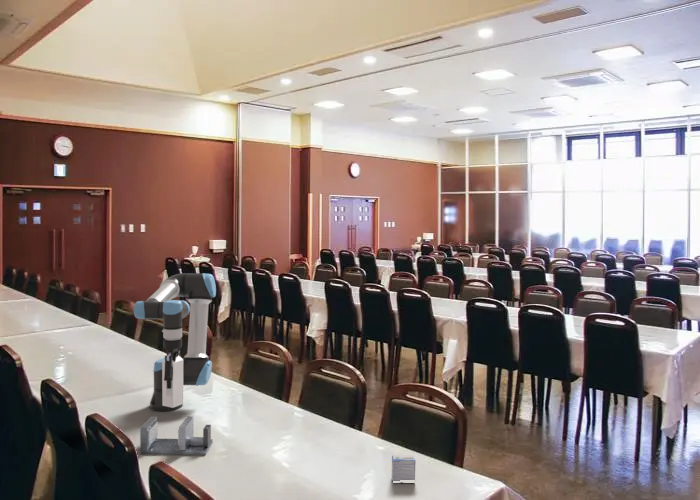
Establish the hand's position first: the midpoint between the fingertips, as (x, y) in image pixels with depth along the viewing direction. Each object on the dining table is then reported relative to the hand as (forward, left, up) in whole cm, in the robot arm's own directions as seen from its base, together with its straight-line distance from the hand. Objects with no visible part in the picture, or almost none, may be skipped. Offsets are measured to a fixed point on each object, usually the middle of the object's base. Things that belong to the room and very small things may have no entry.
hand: (172, 392), depth 237 cm
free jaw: (+13, +13, -17) cm, 24 cm away
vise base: (+13, +6, -19) cm, 23 cm away
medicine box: (+39, +92, -19) cm, 102 cm away
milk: (0, 0, -6) cm, 6 cm away
